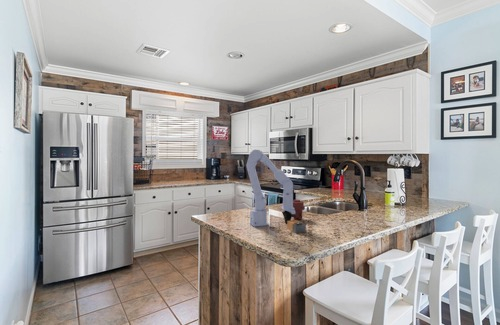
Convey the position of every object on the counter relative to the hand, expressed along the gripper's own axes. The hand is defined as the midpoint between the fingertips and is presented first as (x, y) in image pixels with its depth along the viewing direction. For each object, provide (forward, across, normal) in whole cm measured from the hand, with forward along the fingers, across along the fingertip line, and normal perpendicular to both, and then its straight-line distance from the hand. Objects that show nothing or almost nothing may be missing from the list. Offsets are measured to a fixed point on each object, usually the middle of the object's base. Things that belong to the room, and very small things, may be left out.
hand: (287, 224), depth 157 cm
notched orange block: (+1, -8, 0) cm, 8 cm away
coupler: (+1, -9, 0) cm, 9 cm away
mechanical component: (+1, +13, -13) cm, 18 cm away
